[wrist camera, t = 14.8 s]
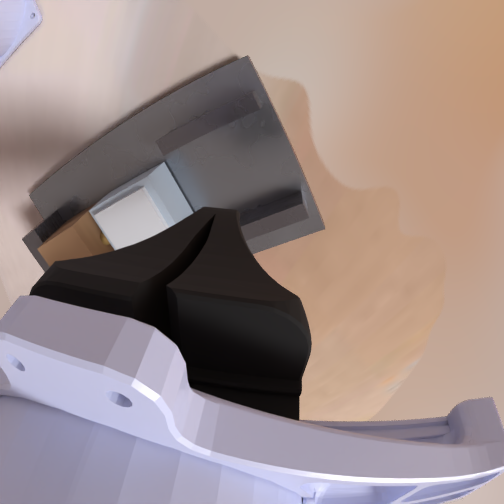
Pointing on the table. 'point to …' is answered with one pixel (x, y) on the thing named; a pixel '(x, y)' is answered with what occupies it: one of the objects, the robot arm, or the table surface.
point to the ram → (141, 208)
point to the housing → (75, 240)
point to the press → (196, 161)
